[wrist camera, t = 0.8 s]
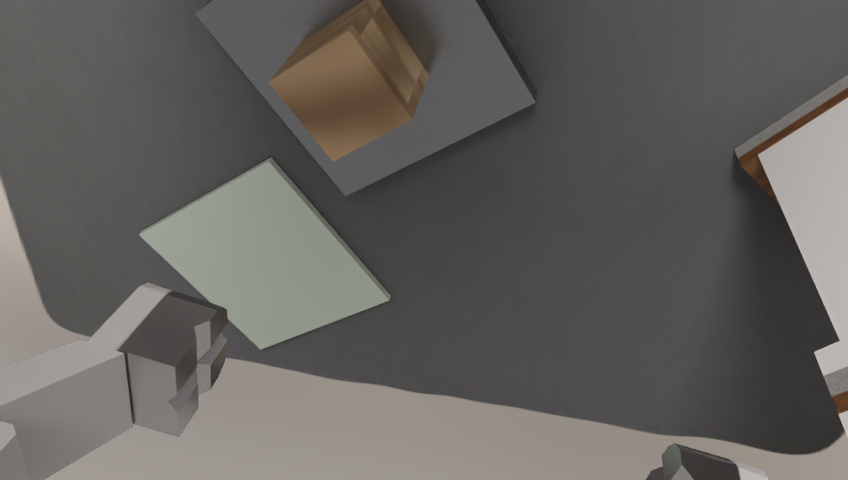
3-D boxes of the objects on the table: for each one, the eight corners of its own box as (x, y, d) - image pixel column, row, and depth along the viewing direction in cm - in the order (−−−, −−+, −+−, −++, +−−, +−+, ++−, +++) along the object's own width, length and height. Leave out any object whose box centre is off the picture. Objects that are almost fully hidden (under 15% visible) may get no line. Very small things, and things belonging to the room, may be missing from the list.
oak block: (301, 41, 41) (268, 82, 37) (374, -8, 39) (348, 30, 34) (357, 115, 44) (332, 161, 39) (428, 74, 41) (412, 119, 37)
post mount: (204, 5, 43) (161, 40, 38) (398, -144, 35) (374, -124, 31) (350, 185, 50) (328, 233, 45) (536, 92, 42) (533, 137, 38)
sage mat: (142, 230, 57) (138, 234, 56) (271, 157, 49) (268, 161, 49) (262, 344, 64) (260, 349, 63) (390, 295, 57) (389, 300, 56)
